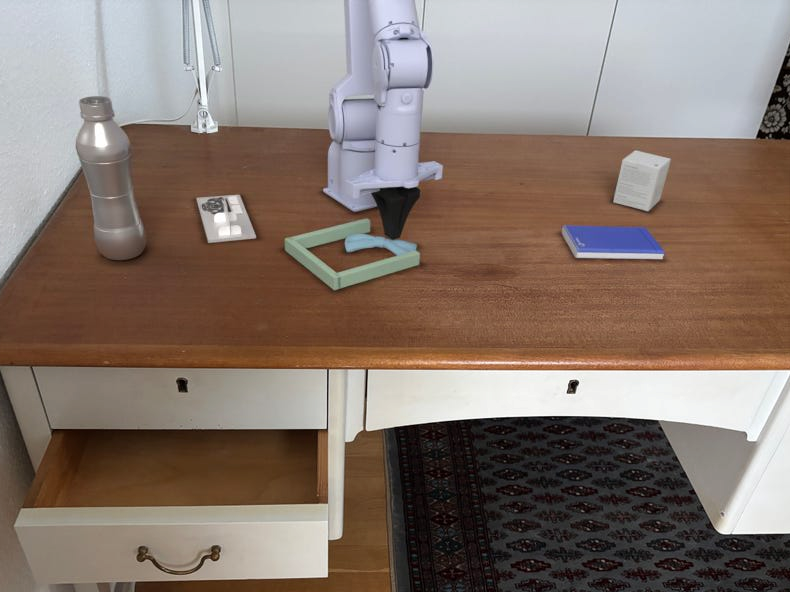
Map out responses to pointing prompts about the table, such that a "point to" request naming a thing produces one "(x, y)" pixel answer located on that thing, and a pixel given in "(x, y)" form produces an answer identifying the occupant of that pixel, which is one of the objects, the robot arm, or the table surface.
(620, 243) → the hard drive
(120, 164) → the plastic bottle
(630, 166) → the product box
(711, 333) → the table surface
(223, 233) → the grey board with parts
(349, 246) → the bow tie
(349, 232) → the bay
